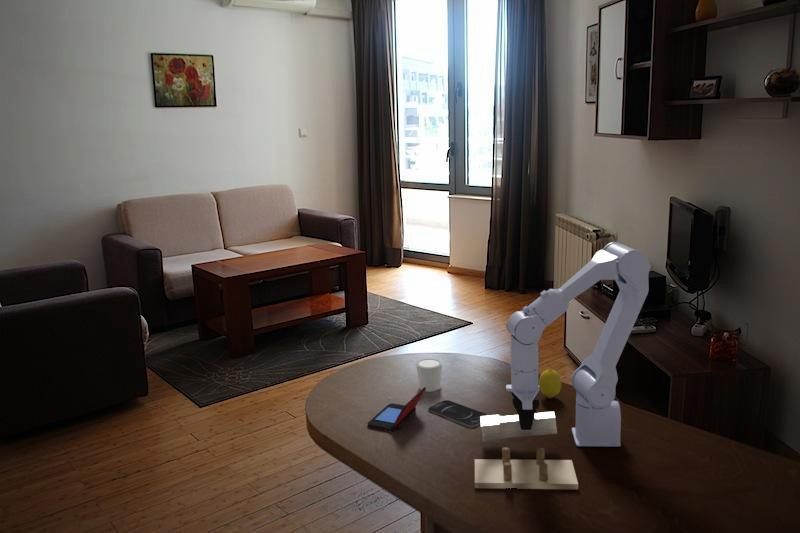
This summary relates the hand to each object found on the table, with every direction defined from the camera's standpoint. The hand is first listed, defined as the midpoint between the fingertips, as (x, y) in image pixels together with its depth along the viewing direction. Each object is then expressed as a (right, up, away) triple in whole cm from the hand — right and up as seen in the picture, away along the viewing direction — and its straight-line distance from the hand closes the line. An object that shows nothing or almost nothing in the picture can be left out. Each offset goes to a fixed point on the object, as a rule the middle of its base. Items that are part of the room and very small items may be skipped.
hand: (525, 425), depth 148 cm
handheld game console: (-28, -3, +17) cm, 33 cm away
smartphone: (-13, -2, +19) cm, 23 cm away
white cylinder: (-19, +2, +35) cm, 40 cm away
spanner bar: (-1, -2, +1) cm, 2 cm away
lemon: (+11, +1, +24) cm, 27 cm away
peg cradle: (-2, -8, -10) cm, 13 cm away
